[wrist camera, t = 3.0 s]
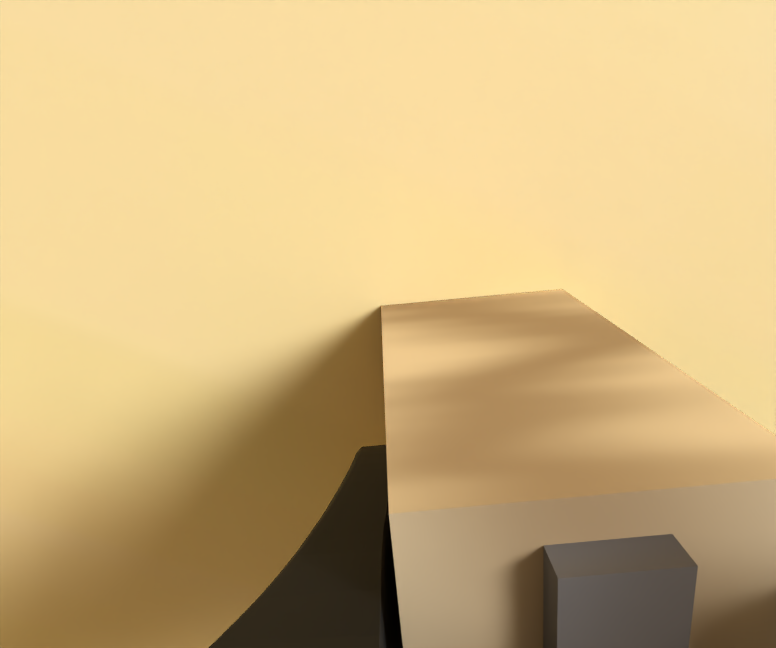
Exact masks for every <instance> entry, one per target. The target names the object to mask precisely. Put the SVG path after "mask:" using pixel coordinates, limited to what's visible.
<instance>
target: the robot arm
mask: <svg viewBox="0 0 776 648" xmlns="http://www.w3.org/2000/svg"><path fill="white" fill-rule="evenodd" d="M209 648H403V643H402V634H401V624H400V615H399V606H398V596H397V587H396V577H395V568H394V558H393V549H392V539H391V530H390V521H389V506H388V479H387V453H386V445H380V446H369V447H362V448H361V449H360V450H359V451H358V452H357V453H356V456H355V458H354V460H353V463H352V465H351V467H350V469H349V471H348V473H347V475H346V477H345V478H344V480H343V482H342V484H341V486H340V487H339V489H338V491H337V493H336V494H335V496H334V497H333V499H332V501H331V502H330V504H329V506H328V507H327V509H326V511H325V512H324V514H323V515H322V517H321V518H320V520H319V521H318V523H317V524H316V526H315V527H314V528H313V530H312V531H311V533H310V534H309V536H308V537H307V538H306V540H305V541H304V543H303V544H302V545H301V547H300V548H299V550H298V551H297V552H296V554H295V555H294V556H293V557H292V559H291V560H290V561H289V562H288V564H287V565H286V566H285V567H284V569H283V570H282V571H281V572H280V574H279V575H278V576H277V577H276V578H275V579H274V581H273V582H272V583H271V584H270V585H269V586H268V588H267V589H266V590H265V591H264V592H263V593H262V594H261V595H260V597H259V598H258V599H257V600H256V601H255V602H254V603H253V604H252V605H251V606H250V607H249V608H248V609H247V610H246V611H245V612H244V613H243V614H242V615H241V616H240V618H239V619H238V620H237V621H236V622H235V623H234V624H233V625H232V626H231V627H230V628H229V629H228V630H227V631H225V632H224V633H223V634H222V635H221V636H220V637H219V638H218V639H217V640H216V641H215V642H214V643H213V644H212V645H211V646H210V647H209Z"/></svg>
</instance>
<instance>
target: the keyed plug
mask: <svg viewBox="0 0 776 648" xmlns="http://www.w3.org/2000/svg"><path fill="white" fill-rule="evenodd" d="M381 319H382V346H383V373H384V399H385V426H386V453H387V479H388V506H389V521H390V530H391V539H392V549H393V558H394V568H395V577H396V587H397V596H398V606H399V615H400V624H401V634H402V643H403V648H776V435H775V434H773V433H772V432H771V431H769V430H768V429H766V428H765V427H763V426H762V425H760V424H759V423H757V422H756V421H755V420H753V419H752V418H750V417H749V416H747V415H746V414H744V413H743V412H741V411H740V410H738V409H737V408H736V407H734V406H733V405H731V404H730V403H728V402H727V401H725V400H724V399H722V398H721V397H719V396H718V395H717V394H715V393H714V392H712V391H711V390H709V389H708V388H706V387H705V386H703V385H702V384H700V383H699V382H698V381H696V380H695V379H693V378H692V377H690V376H689V375H687V374H686V373H684V372H683V371H681V370H680V369H679V368H677V367H676V366H674V365H673V364H671V363H670V362H668V361H667V360H665V359H664V358H662V357H661V356H660V355H658V354H657V353H655V352H654V351H652V350H651V349H649V348H648V347H646V346H645V345H643V344H642V343H641V342H639V341H638V340H636V339H635V338H633V337H632V336H630V335H629V334H627V333H626V332H625V331H623V330H622V329H620V328H619V327H617V326H616V325H614V324H613V323H611V322H610V321H608V320H607V319H606V318H604V317H603V316H601V315H600V314H598V313H597V312H595V311H594V310H592V309H591V308H589V307H588V306H587V305H585V304H584V303H582V302H581V301H579V300H578V299H576V298H575V297H573V296H572V295H570V294H569V293H568V292H566V291H565V290H563V289H559V290H548V291H537V292H526V293H515V294H504V295H494V296H483V297H472V298H461V299H450V300H440V301H429V302H418V303H407V304H396V305H386V306H381Z"/></svg>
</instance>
